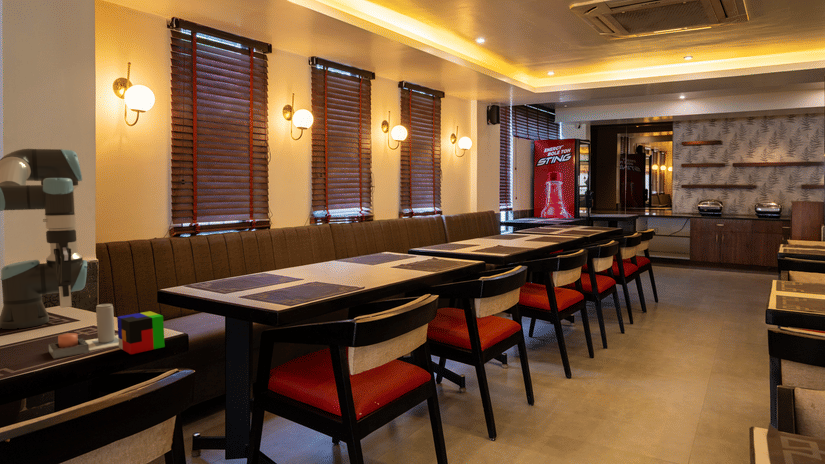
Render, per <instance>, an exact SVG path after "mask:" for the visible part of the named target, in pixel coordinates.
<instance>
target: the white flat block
mask: <svg viewBox="0 0 825 464" xmlns="http://www.w3.org/2000/svg"><path fill="white" fill-rule="evenodd" d="M84 340H85V339H84ZM85 341H86V342H87V343H88V346H89V352H91V351H97V350H101V349H102V350H104V349H107V348H113V347H114V348H115V347H119V341H118V334H115V340H114V341H112V342H109V343H100V342H99V341H98V337H97V338H93V339H86V340H85Z"/></svg>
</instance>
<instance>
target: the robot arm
mask: <svg viewBox="0 0 825 464" xmlns="http://www.w3.org/2000/svg"><path fill="white" fill-rule="evenodd" d="M29 181H31V182H33V181H34V182H40V184H32V185H31V184H30V185H29V184H27V182H29ZM79 182H83V175H82V171H81V166H80V161H79V157H78V154H77V152H76V151H75V150H72V149H64V148H63V149H62V148H60V149H58V148H57V149H55V148H54V149H51V148H44V149H43V148H21V149H18V150H14V151H11V152H9V153H7V154H6V155H4V156H2V157H1V158H0V212H1V211H3V212H4V211H24V210H25V211H26V210H27V211H29V210H30V211H31V210H34V211H35V210H44V219H42V222H43V223H45V228H46V231H45V234H46V235H45V236H46V243H47V244H49V247H50V254H49V255H48V256H47V257H46V259H45V261H46V262H43V263H42V262H40V260H38V259H32V260H31V259H30V260H29V259H28V260H24V261H18V262H13V263H10V264H6V265H4V266H3V267H2V268H1V270H0V271H1V272H0V277H1V278H0V280H1V289H2V290H1V291H2V292H1V293H2V308H1V309H2V310H1V312H0V329H1V328H2V330H3V329H4V330H17V328H19V329H25V328H32V327H36V326H41V325H44V324H46V323H49V322H50V317H49V313H48V310H47V309H46V307H45V304H44V302H43V295H49V294H50V295H51V294H58V293H59V305H60V306H59V307H60V309H63V308H70V307H73V305H72V294H71V293H73V292H78V291H82V290H83V289H84V288H85V287H86V283H87V274H88V273H87V272H88V260H86V259H84V258H83V255H82V254H80V253H79V252H78V239H77V238H78V236H77V222H76V221H77V220H76V219H77V218H76V205H75V204H76V203H75V190H76V189H77V187H79Z"/></svg>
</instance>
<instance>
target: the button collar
mask: <svg viewBox="0 0 825 464" xmlns="http://www.w3.org/2000/svg"><path fill="white" fill-rule="evenodd" d="M48 353H49V354H50V356H51V357H52V359H54V360H55V359H60V358H65V357H72V356H76V355H77V356H78V355H81V354H83V355H84V354H88V353H90V351H89V346H88V343H87V342H86V341H85V339H84V338H83V337H82V338H78V345H75V346H69V347H63V348H59V344H58V342H53V343H48Z"/></svg>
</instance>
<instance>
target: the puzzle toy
mask: <svg viewBox="0 0 825 464" xmlns="http://www.w3.org/2000/svg"><path fill="white" fill-rule="evenodd" d="M116 321H117V322H116V323H117V335H118V341H119V346H118V348H119V349H121V350H123V351H124V352H126V353H127V354H129V355H136V354H139V353H143V352H149V351H152V350H156V349H157V350H158V349H161V348H165V347H166V345H165V331H164V330H165V327H164V326H165V325H164V316H163V315H162V314H159V313H156V312H154V311H150V310H149V311H144V312H137V313H132V314H126V315H120V316H117V317H116Z"/></svg>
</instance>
